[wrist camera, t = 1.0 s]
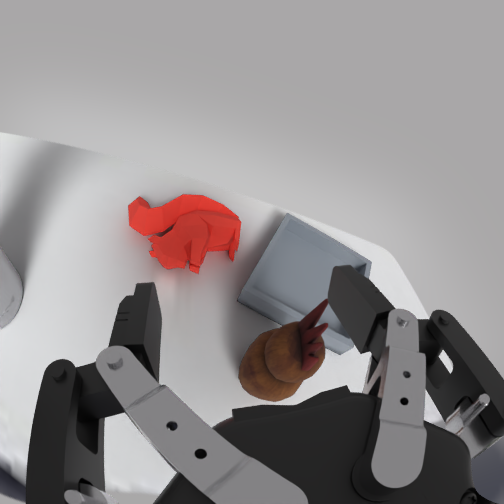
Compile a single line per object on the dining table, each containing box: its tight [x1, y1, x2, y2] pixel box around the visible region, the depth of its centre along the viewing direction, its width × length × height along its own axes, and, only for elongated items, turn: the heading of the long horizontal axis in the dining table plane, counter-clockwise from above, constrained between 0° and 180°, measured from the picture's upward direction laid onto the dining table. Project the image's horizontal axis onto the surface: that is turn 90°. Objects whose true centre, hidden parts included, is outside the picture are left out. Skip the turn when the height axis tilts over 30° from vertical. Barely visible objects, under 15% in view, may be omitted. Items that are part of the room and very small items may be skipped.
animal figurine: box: [128, 195, 241, 274], centre depth 33 cm, size 12×15×5 cm
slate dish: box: [237, 213, 372, 355], centre depth 35 cm, size 15×15×3 cm
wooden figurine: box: [238, 299, 329, 402], centre depth 22 cm, size 7×6×15 cm
